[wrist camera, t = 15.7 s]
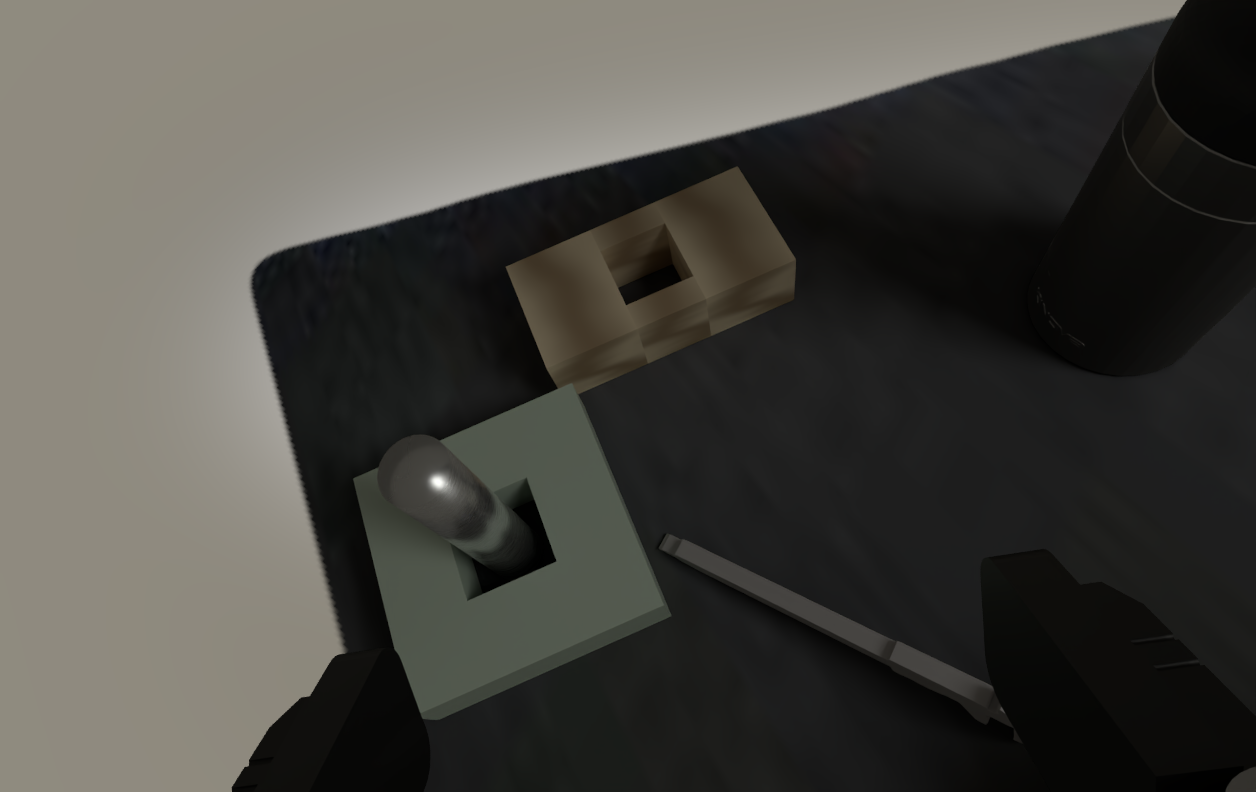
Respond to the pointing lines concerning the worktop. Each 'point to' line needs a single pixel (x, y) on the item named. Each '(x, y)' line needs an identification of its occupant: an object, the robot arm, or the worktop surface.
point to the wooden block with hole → (637, 246)
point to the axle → (458, 506)
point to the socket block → (533, 604)
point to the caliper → (847, 632)
